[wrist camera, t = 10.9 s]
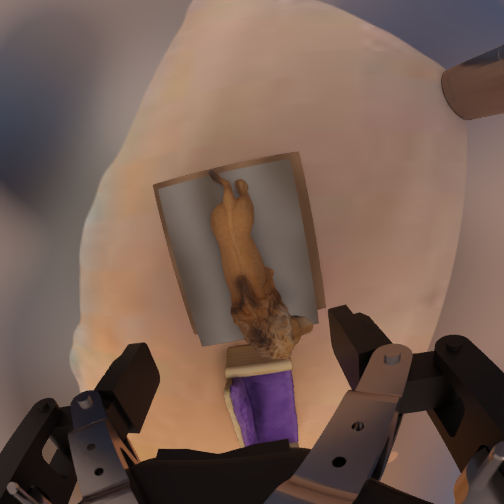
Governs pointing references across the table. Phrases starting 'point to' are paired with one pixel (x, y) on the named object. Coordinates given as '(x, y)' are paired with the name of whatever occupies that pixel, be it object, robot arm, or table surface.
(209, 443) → the table surface
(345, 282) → the table surface
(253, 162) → the wooden box
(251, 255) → the lion figurine
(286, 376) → the toy sofa
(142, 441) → the table surface
